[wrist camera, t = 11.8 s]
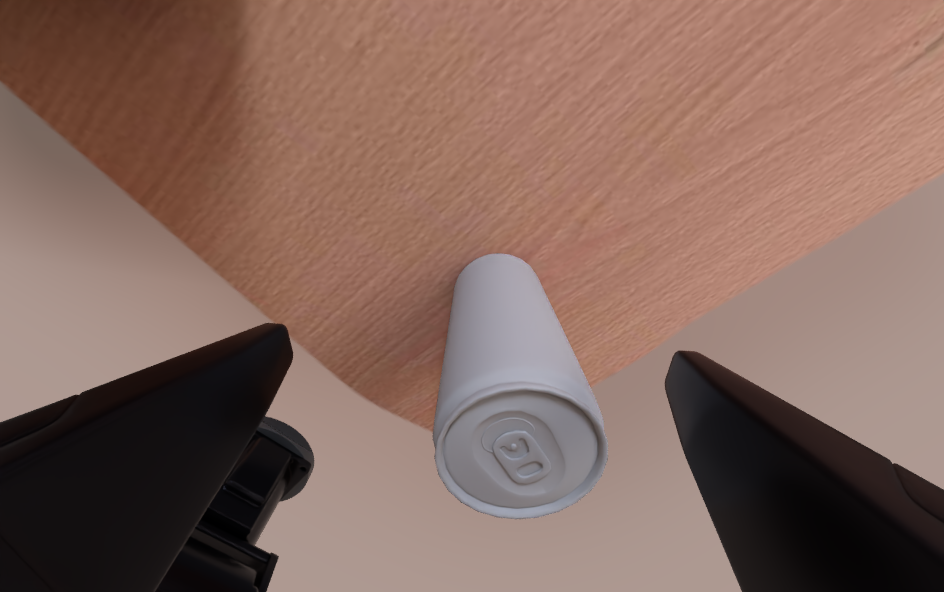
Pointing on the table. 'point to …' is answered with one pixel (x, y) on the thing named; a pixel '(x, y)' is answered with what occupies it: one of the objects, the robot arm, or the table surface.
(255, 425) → the robot arm
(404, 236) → the table surface
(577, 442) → the beverage can
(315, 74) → the table surface
